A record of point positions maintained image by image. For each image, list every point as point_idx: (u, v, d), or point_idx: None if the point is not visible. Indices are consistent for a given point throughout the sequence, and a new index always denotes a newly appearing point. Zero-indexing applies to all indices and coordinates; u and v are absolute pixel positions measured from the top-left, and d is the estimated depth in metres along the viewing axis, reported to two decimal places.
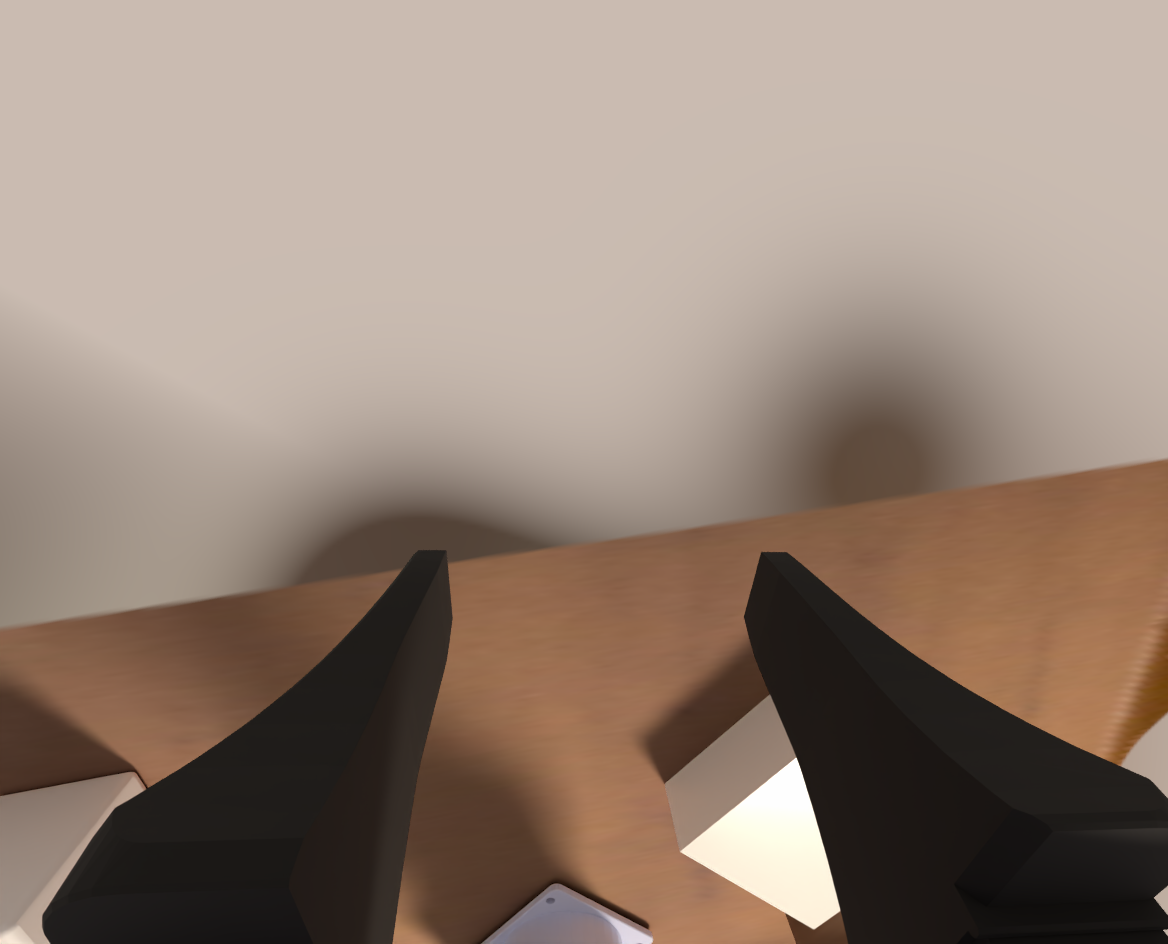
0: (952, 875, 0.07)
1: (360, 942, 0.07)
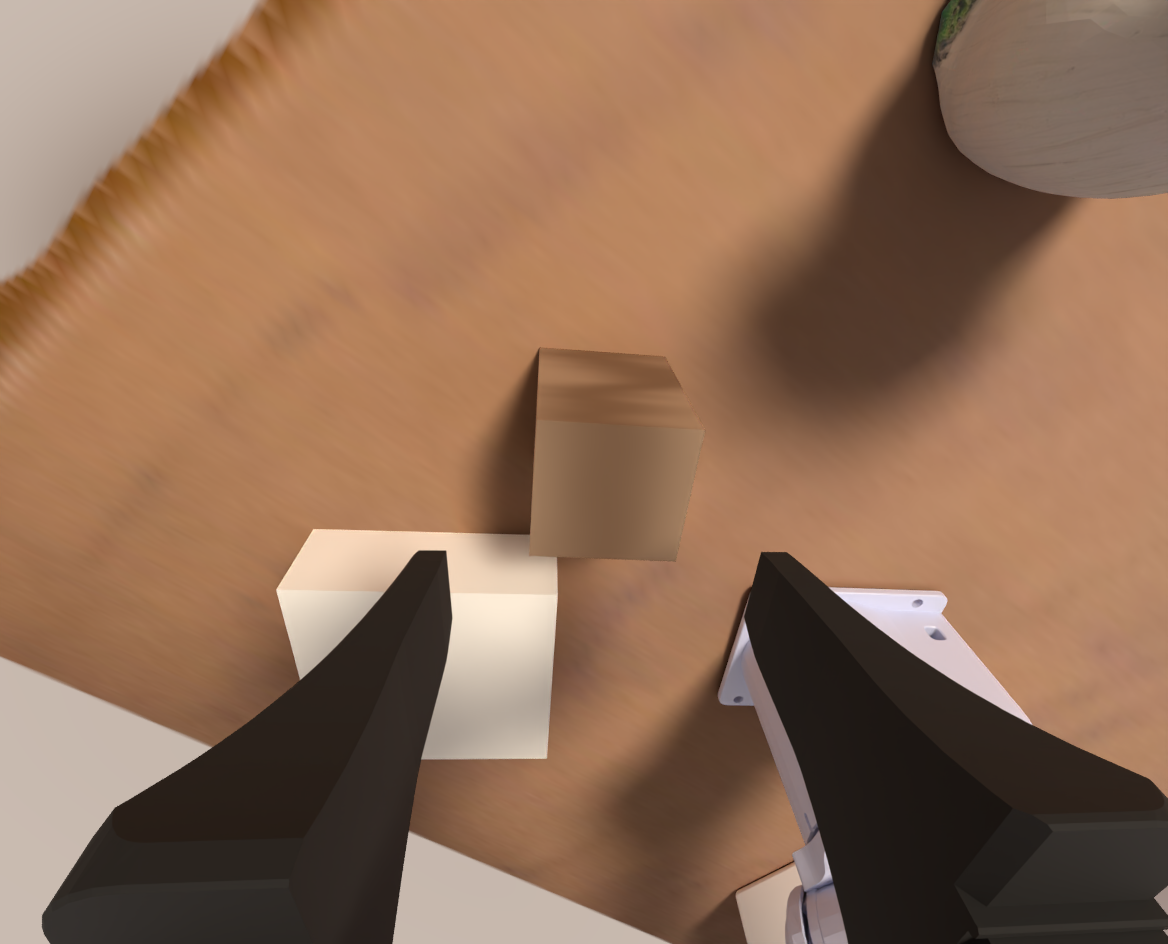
0: (952, 875, 0.07)
1: (360, 942, 0.07)
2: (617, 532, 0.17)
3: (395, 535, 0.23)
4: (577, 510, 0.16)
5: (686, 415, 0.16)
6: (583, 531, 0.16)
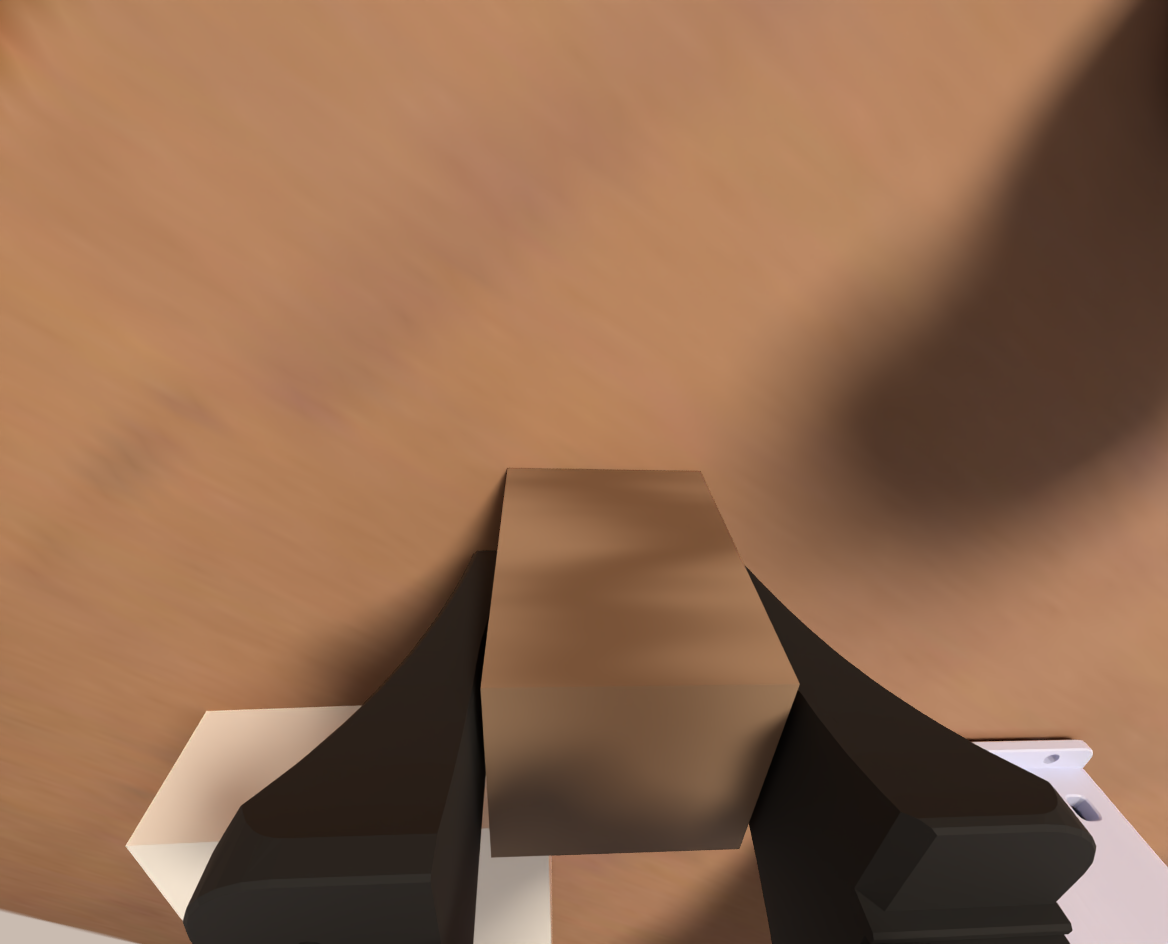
0: (853, 879, 0.07)
1: (460, 937, 0.07)
2: (639, 822, 0.10)
3: (320, 716, 0.16)
4: (568, 800, 0.09)
5: (757, 636, 0.09)
6: (581, 824, 0.10)
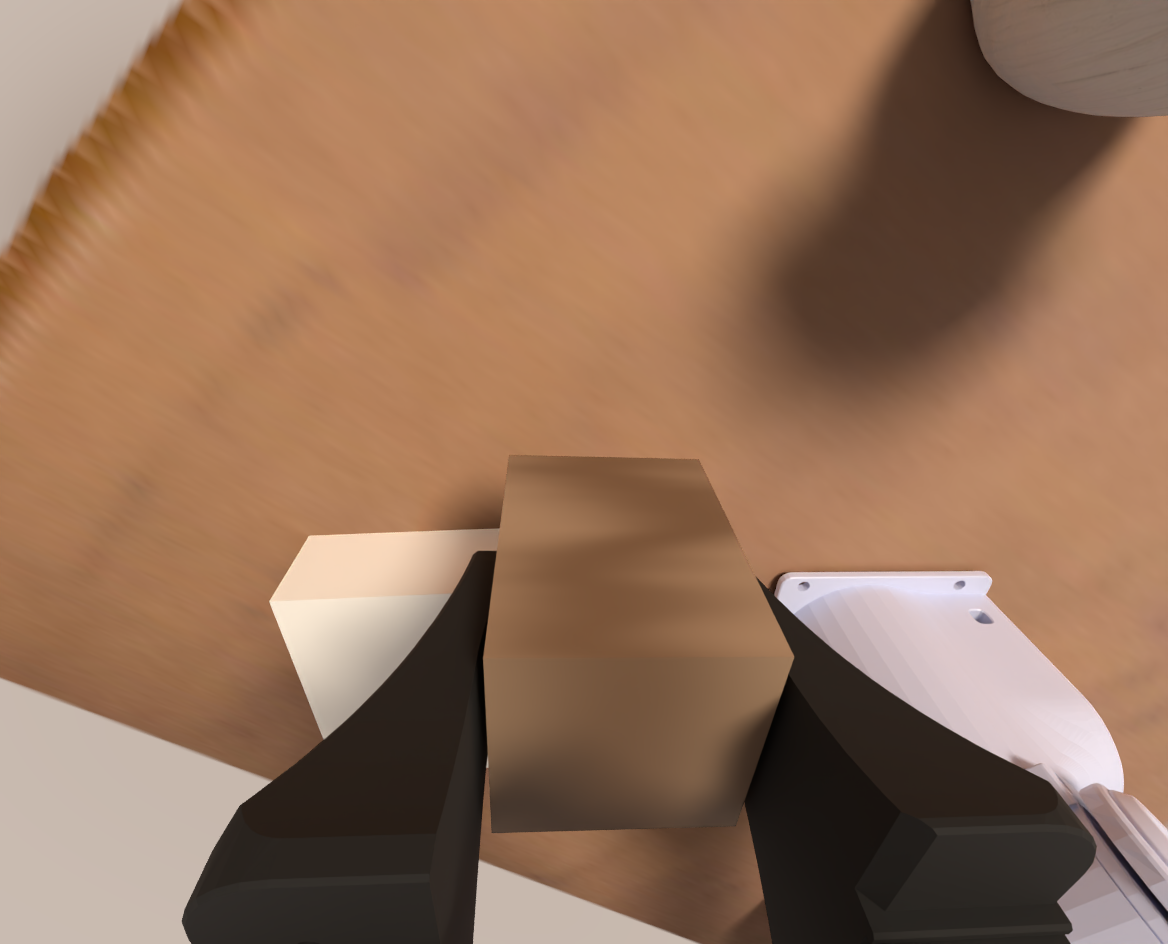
0: (853, 879, 0.07)
1: (459, 937, 0.07)
2: (637, 797, 0.10)
3: (394, 537, 0.22)
4: (568, 774, 0.09)
5: (753, 613, 0.09)
6: (580, 799, 0.10)
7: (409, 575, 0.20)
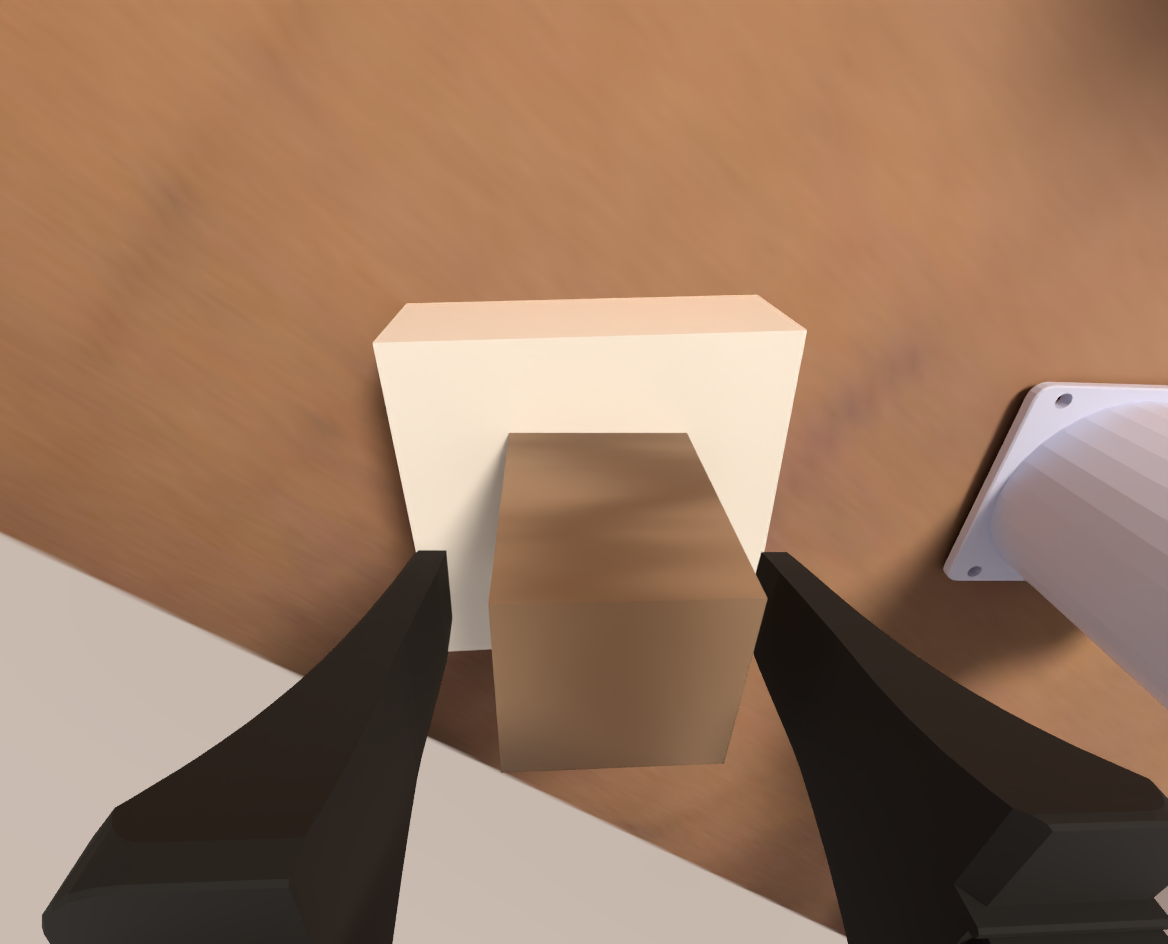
0: (952, 875, 0.07)
1: (360, 942, 0.07)
2: (632, 736, 0.11)
3: (526, 302, 0.16)
4: (568, 714, 0.10)
5: (732, 563, 0.10)
6: (580, 738, 0.11)
7: (567, 324, 0.14)
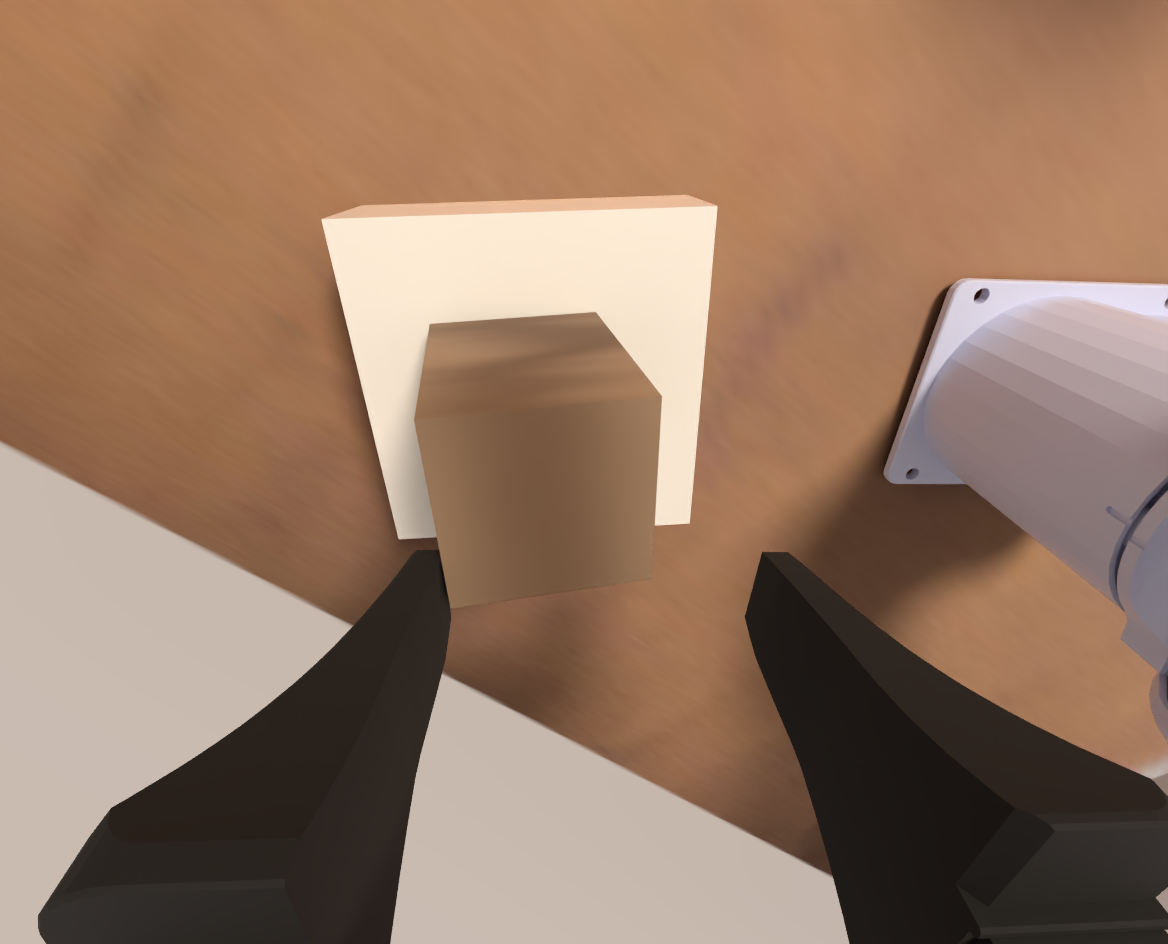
0: (954, 875, 0.07)
1: (357, 942, 0.07)
2: (566, 557, 0.12)
3: (472, 202, 0.17)
4: (503, 536, 0.11)
5: (633, 380, 0.11)
6: (518, 563, 0.12)
7: (502, 209, 0.15)
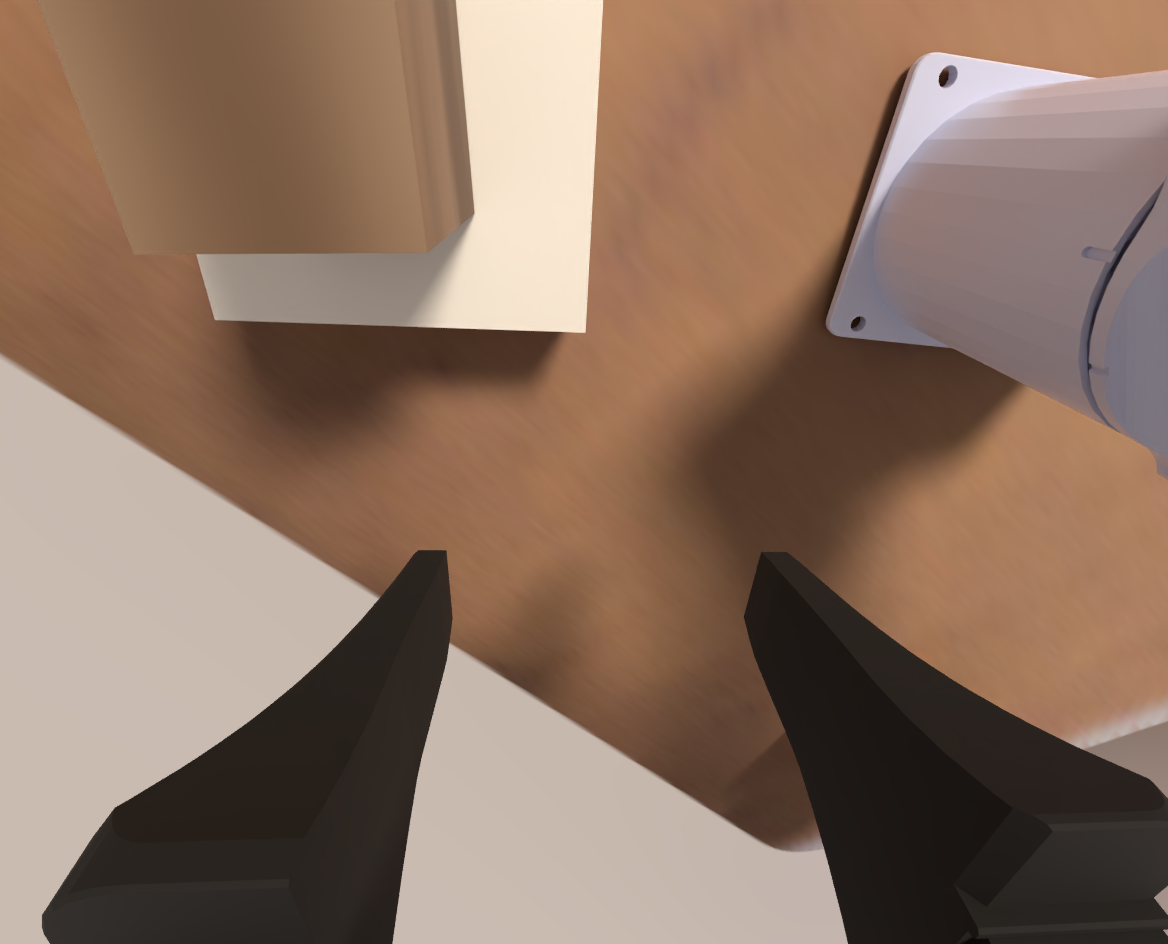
0: (952, 875, 0.07)
1: (360, 942, 0.07)
2: (285, 183, 0.08)
3: None
4: (180, 123, 0.08)
5: None
6: (215, 182, 0.08)
7: None
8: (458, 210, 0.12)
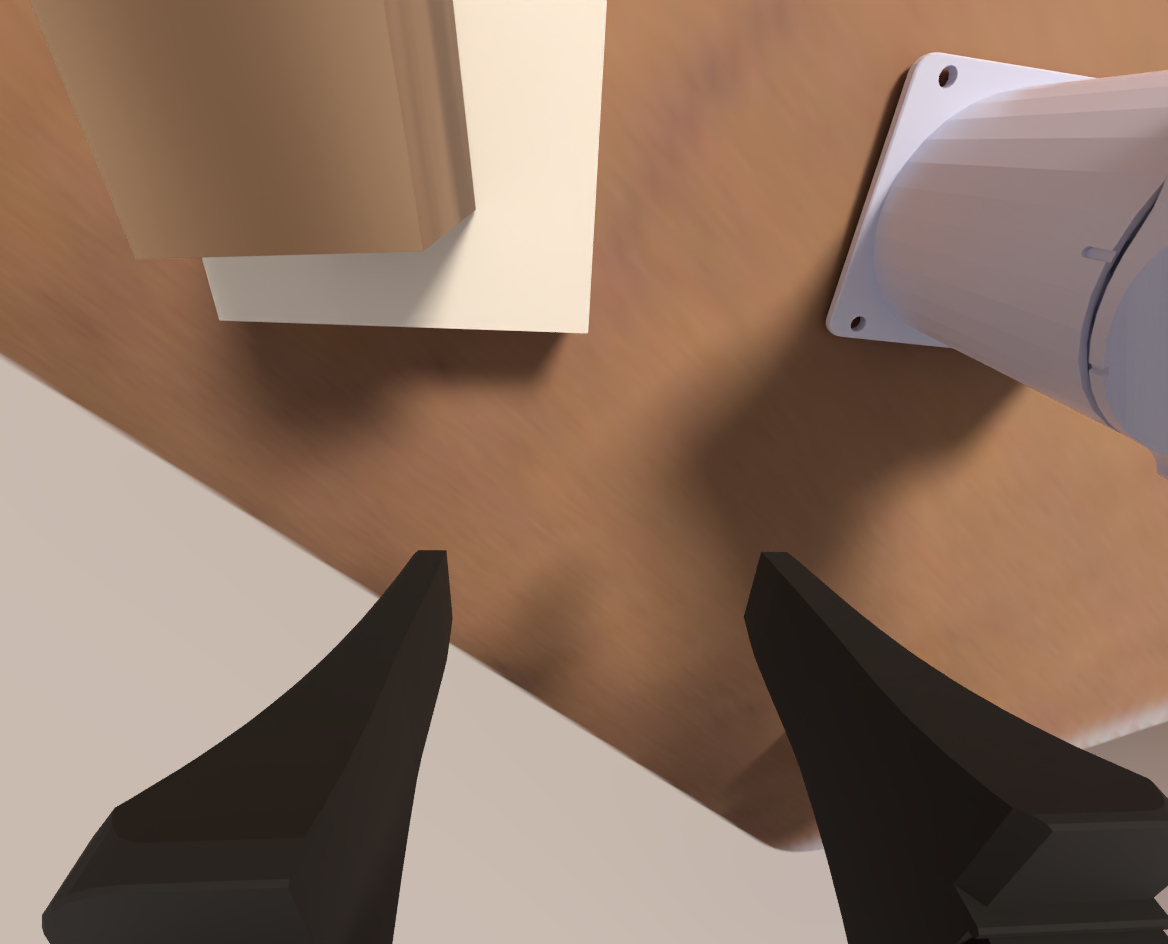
0: (952, 875, 0.07)
1: (360, 942, 0.07)
2: (281, 184, 0.08)
3: None
4: (176, 128, 0.08)
5: None
6: (212, 185, 0.08)
7: None
8: (457, 207, 0.12)
